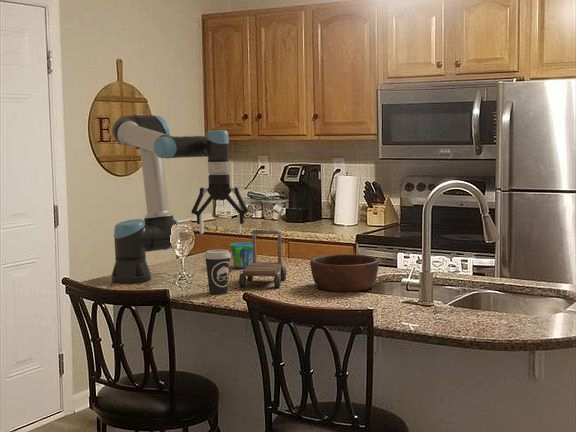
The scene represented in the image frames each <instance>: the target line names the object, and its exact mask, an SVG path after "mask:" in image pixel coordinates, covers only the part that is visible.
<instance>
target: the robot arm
mask: <svg viewBox="0 0 576 432" xmlns="http://www.w3.org/2000/svg"><path fill="white" fill-rule="evenodd" d="M111 127H112V128H111V135H112V136H113V139H114V141H115V142H117V143H118V144H121V145H123V146H126V147H129V146H130V147H131V146H135V149H136V150H135V151H137V152H138V153H139V154H140V159H141V160H140V161H141V168H142V169H141V170H142V178H143V186H144V187H143V188H144V196H145V204H146V215H145V216H144V217H143V219H140V218H139V219H138V218H136V219H135V218H134V219H128V220H124V221H120V222H117V224H115V226H114V229H113V230H114V231H113V232H114V234H113V238H114V257H115V260H114V261H115V263H114V266H113V269H112V272H111V282H112V283H114V284H121V285H122V284H124V285H126V284H128V285H130V284H141V283H146V282H149V281H151V280H152V274H151V271H150V268H149V265H148V263H147V257H146V253H147V252H156V251H168V250H170V249H173V248H172V246H171V243H170V235H171V228H172V226H173V225H175V224H176V225H178V224H179V225H180V223H179V221H178V220H176V219H174V214H173V213H172V212H170V209H169V201H168V191H167V182H166V174H165V163H164V159H165V160H166V159H179V158H181V159H182V158H207V166H208V167H207V169H208V170H207V172H208V188H205V187H204V186H203V187H200V188H199V194H198V197H197V198H196V201H195V203H194V205H193V207H192V209H191V212H190V213H191V214H194V215H196V223H197V225H199V234H200V235H201V234H202V235H203V234H204V233H205V232H204V229H205V227H204V215H203V212H204V211H205V210H206V208H207V207H208V206H209V205H210V203H211V202H212V201H213V200H214V201H225V200H226V201H227V202H228V203H229V204H230V205H231V206H232V207H233V209H234V210H235V211H236V212H237V213H238V214H237V220H236V221H237V234H241V233H242V225H243V224H244V223H245V219H244V215H245V214H247V213H249V212H250V210H249V208H248V206H247V204H246V203H245V201H244V199H243V197H242V195H241V193H240V188H239V186H236V187H231V176H230V174H229V173H230V170H231V169H230V140H229V132H228V131H227V130H225V129H224V130H223V129H219V130H217V129H216V130H211V129H210V130H208V131H207V134H206V135H194V136H193V135H192V136H191V135H189V136H188V135H187V136H173V135H171V132H170V131H171V130H170V126H169V124H168V122H167V120H166V119H165V118H164V117H163V116H160V115H153V114H150V115H149V114H148V115H147V114H146V115H141V114H140V115H137V114H136V115H129V114H128V115H123V116H121V117H119V118H118V119H116V120H115V121H114V123H113V125H112V126H111ZM206 193H208V194H209V197H208V198H207V199H205V202H204V203H203V204H202V205H201V207H200V208H199V206H200V204H201V202H202V200H203V197H204V195H205V194H206ZM231 193H233V194H234V195H235V197H236V199H237V201H238V202H239V205H240V206H241V207H240V206H239V205H238V204H237V203H236V202H235V200H234V199H233V198H232V196H231V195H230V194H231Z"/></svg>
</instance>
